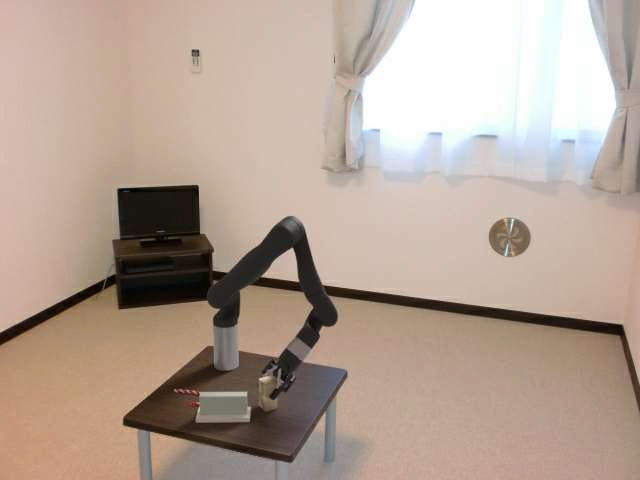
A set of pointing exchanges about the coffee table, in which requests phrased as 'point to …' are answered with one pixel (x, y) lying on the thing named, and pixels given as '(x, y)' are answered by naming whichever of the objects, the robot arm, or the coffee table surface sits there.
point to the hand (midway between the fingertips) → (264, 393)
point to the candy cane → (190, 393)
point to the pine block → (267, 393)
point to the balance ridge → (223, 407)
